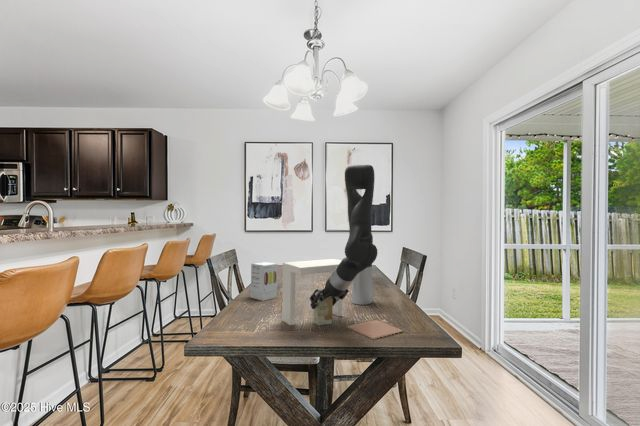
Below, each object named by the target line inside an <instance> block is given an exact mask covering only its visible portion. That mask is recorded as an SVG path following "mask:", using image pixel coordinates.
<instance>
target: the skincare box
mask: <svg viewBox="0 0 640 426" xmlns="http://www.w3.org/2000/svg"><path fill="white" fill-rule="evenodd" d="M318 290H319V289H318ZM322 290H323V289H321V290H319V291H322ZM314 292H315V290H314V291H313V293H314ZM321 296H322V299H324V297H323V294H322V295H321ZM319 300H320V299H318V301H319ZM332 305H333V298H332V299H327V300H326V301H324V302H320V303H318V305H317V306H316V308H315V309H313V316H312V317H313V319H312V321H313V323H314V324H315V325H317V326H323V325H330V324H331V325H332V324H333V314H332Z"/></svg>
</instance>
